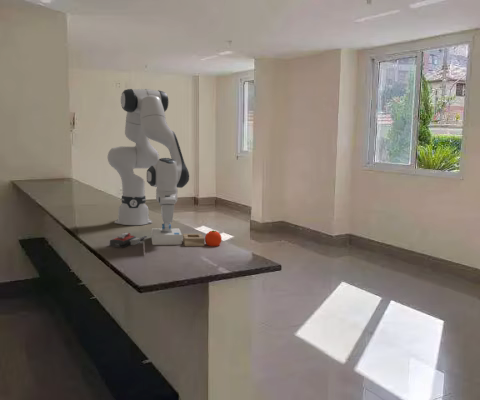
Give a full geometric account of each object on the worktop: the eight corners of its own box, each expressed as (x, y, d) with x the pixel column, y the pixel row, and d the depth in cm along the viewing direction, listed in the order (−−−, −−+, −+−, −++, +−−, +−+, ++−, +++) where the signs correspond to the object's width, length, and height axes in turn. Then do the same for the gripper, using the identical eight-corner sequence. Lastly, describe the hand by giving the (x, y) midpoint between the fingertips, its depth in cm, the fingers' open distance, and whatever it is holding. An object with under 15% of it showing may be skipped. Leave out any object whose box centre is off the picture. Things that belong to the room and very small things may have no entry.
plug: (161, 239, 210) (162, 223, 209) (170, 239, 211) (170, 223, 210) (162, 241, 207) (162, 225, 206) (170, 241, 208) (170, 225, 207)
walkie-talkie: (127, 249, 197) (148, 239, 216) (127, 238, 196) (148, 230, 215) (107, 247, 199) (130, 238, 218) (107, 236, 198) (130, 228, 217)
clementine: (205, 244, 209) (206, 228, 208) (222, 245, 209) (222, 228, 208) (203, 248, 201) (204, 231, 200) (220, 249, 201) (221, 232, 200)
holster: (182, 242, 210) (182, 233, 210) (201, 242, 212) (201, 233, 212) (184, 248, 201) (185, 238, 200) (204, 248, 202) (204, 238, 202)
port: (151, 239, 215) (151, 227, 214) (178, 239, 217) (179, 227, 216) (152, 247, 201) (152, 234, 200) (181, 246, 203) (181, 234, 203)
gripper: (158, 193, 216) (157, 224, 218) (160, 200, 196) (159, 234, 198) (172, 194, 217) (172, 224, 219) (176, 200, 197) (175, 234, 199)
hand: (166, 229), depth 208 cm, fingers open, 5 cm apart
